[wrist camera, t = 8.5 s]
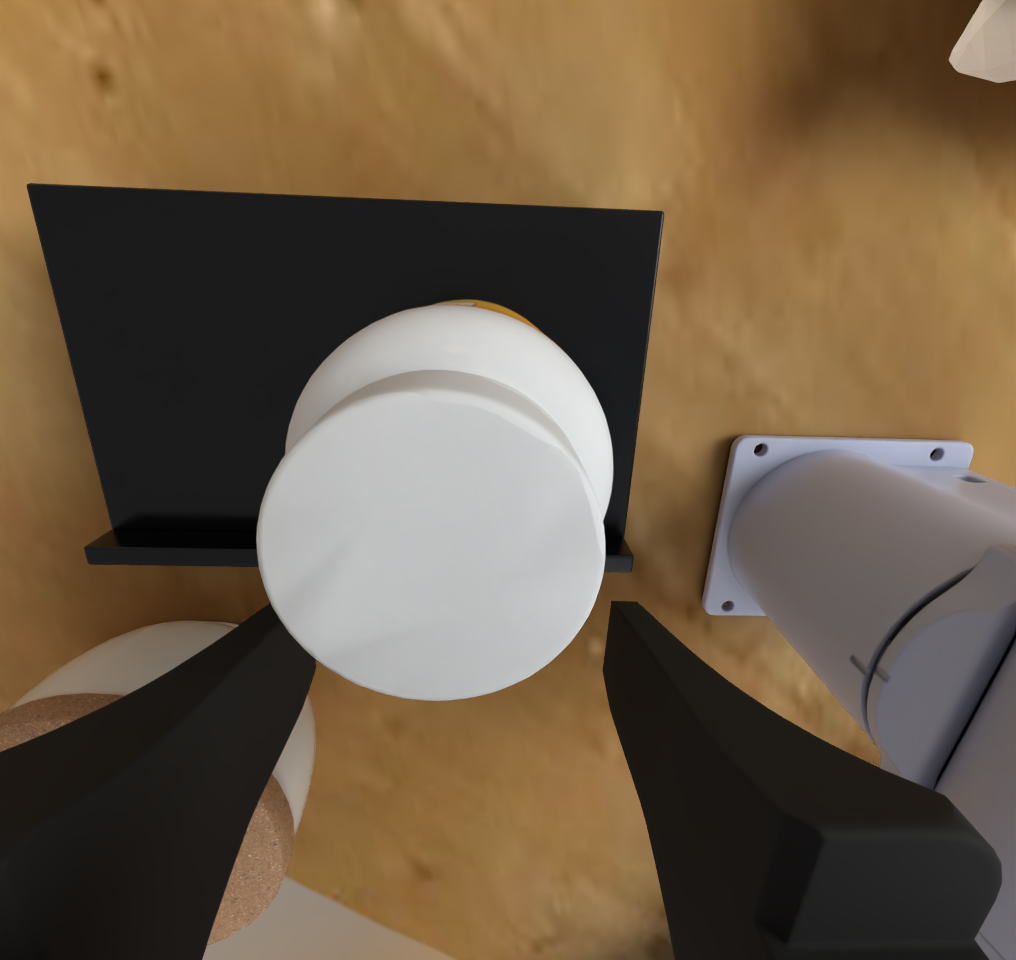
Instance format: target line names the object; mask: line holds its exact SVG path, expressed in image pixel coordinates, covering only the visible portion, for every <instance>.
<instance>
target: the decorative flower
mask: <svg viewBox="0 0 1016 960" xmlns="http://www.w3.org/2000/svg"><path fill="white" fill-rule="evenodd" d="M949 61H950V63H951V64H952V66H953V67H954V69H955V70H956V71H957V72H959V73H963V74H966V75H970V76H974V77H978V78H981V79H985V80H989V81H993V82H996V83H1002V82H1008V81H1013V80H1016V0H982V2H981V3H980V5H979V7H978V8H977V10H976V12H975V14H974V15H973V17H972V19H971V20H970V22H969V24H968V25H967V27H966V29H965V30H964V32H963V33H962V35H961V37H960V38H959V40H958V42H957V43H956V45H955V47H954V48H953V50H952V53H951V55H950V58H949Z"/></svg>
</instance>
